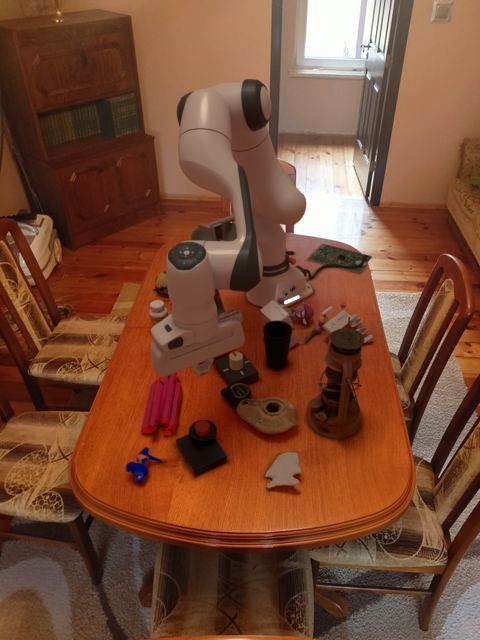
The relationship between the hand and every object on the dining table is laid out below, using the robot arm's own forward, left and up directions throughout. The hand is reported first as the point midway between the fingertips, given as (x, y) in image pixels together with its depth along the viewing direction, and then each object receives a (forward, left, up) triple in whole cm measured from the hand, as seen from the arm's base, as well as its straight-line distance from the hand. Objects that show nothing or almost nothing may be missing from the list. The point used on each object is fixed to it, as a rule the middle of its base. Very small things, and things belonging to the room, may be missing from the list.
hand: (202, 373), depth 105 cm
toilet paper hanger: (-45, -72, -8) cm, 85 cm away
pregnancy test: (-49, -14, -14) cm, 53 cm away
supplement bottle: (-4, -42, -18) cm, 46 cm away
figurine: (+15, +1, -15) cm, 21 cm away
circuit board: (-78, -50, -18) cm, 94 cm away
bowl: (-39, -72, -17) cm, 84 cm away
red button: (+3, +4, -14) cm, 15 cm away
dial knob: (-15, -13, -14) cm, 24 cm away
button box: (+5, +7, -17) cm, 19 cm away
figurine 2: (-32, -25, -14) cm, 43 cm away
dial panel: (-15, -13, -17) cm, 26 cm away
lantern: (-28, +13, -18) cm, 35 cm away
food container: (-15, -37, -5) cm, 41 cm away
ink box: (-35, -19, -17) cm, 43 cm away
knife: (-63, -68, -17) cm, 95 cm away
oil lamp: (-13, +6, -18) cm, 23 cm away
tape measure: (-10, -4, -18) cm, 20 cm away
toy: (-18, -65, -16) cm, 69 cm away
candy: (-49, -16, -17) cm, 54 cm away
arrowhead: (-5, +24, -15) cm, 29 cm away
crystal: (+6, -13, -18) cm, 23 cm away
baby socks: (-54, -11, -15) cm, 57 cm away
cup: (-26, -11, -18) cm, 34 cm away
